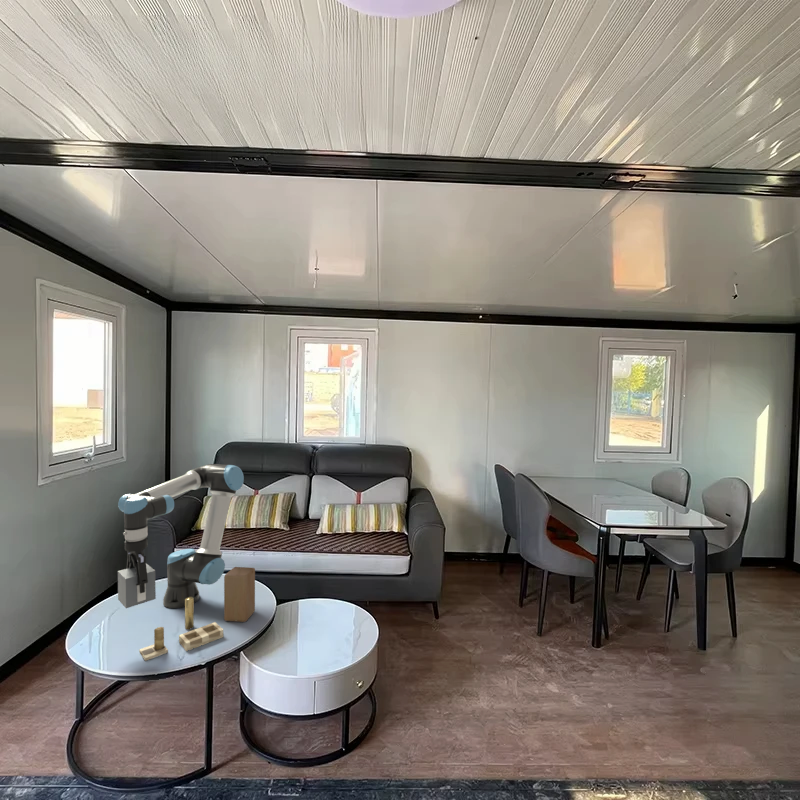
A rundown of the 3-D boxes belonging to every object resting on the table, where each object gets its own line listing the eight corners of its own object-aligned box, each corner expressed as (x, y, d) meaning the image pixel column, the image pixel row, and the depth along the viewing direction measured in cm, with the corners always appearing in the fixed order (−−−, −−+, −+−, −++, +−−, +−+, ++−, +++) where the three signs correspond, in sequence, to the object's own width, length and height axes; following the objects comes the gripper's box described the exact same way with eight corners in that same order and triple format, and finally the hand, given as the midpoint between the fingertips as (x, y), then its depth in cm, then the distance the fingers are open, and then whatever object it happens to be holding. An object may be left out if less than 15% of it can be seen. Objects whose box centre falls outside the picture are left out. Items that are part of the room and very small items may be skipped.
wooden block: (255, 611, 197) (255, 566, 197) (245, 623, 187) (245, 576, 187) (234, 610, 198) (234, 565, 198) (223, 621, 188) (223, 575, 188)
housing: (118, 599, 169) (117, 571, 169) (146, 590, 177) (146, 563, 176) (126, 608, 162) (125, 578, 162) (155, 599, 170) (155, 570, 169)
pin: (183, 627, 183) (183, 598, 183) (191, 624, 186) (191, 596, 185) (186, 630, 181) (186, 601, 181) (194, 627, 183) (194, 598, 183)
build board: (179, 642, 172) (179, 635, 172) (215, 629, 182) (215, 622, 182) (186, 651, 166) (186, 643, 166) (223, 637, 176) (223, 629, 176)
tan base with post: (139, 652, 166) (139, 631, 166) (161, 644, 171) (161, 623, 171) (145, 660, 160) (145, 639, 160) (167, 652, 166) (167, 631, 166)
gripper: (116, 534, 174) (117, 589, 175) (134, 548, 158) (135, 609, 159) (137, 529, 179) (138, 583, 180) (157, 543, 164) (157, 602, 164)
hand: (136, 595), depth 170 cm, fingers closed on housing, 10 cm apart
